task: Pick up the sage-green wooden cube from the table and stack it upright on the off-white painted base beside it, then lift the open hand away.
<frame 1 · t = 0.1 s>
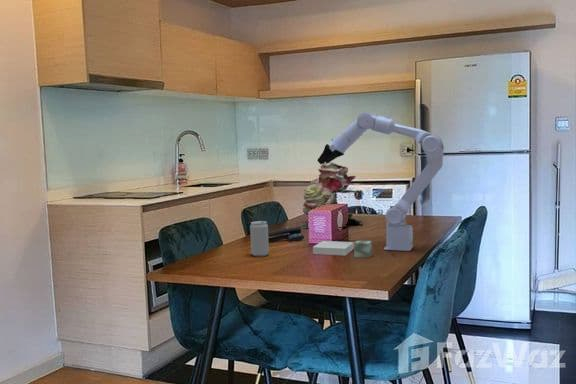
hand: (322, 162, 211), 32 cm above the table, tool tilted 50°, fingers open, 7 cm apart
can opener: (281, 242, 226), on the table
stacking base: (333, 251, 203), on the table
rose bouquet: (327, 226, 261), on the table
green cube: (363, 256, 194), on the table
beverage can: (260, 255, 200), on the table
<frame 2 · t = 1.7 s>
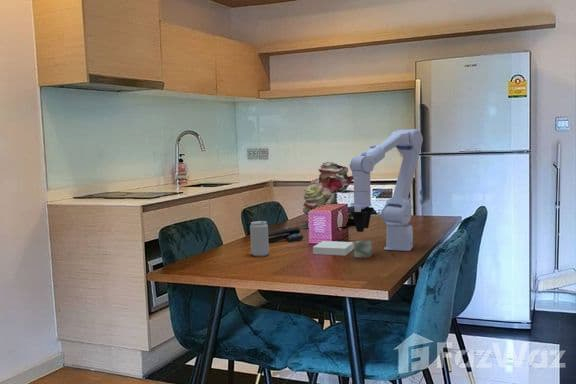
hand: (362, 229, 193), 9 cm above the table, tool pointing down, fingers open, 7 cm apart
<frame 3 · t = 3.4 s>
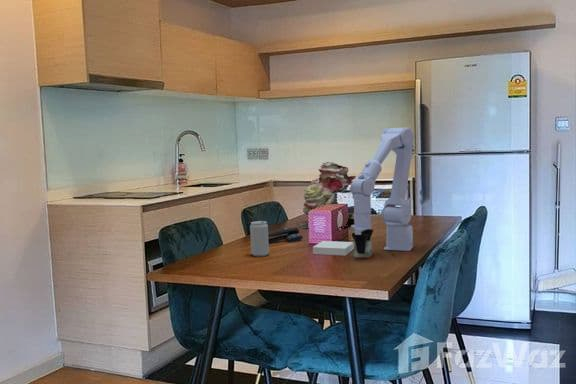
hand: (363, 251, 194), 1 cm above the table, tool pointing down, fingers closed on green cube, 5 cm apart
green cube: (363, 255, 194), on the table, touching gripper
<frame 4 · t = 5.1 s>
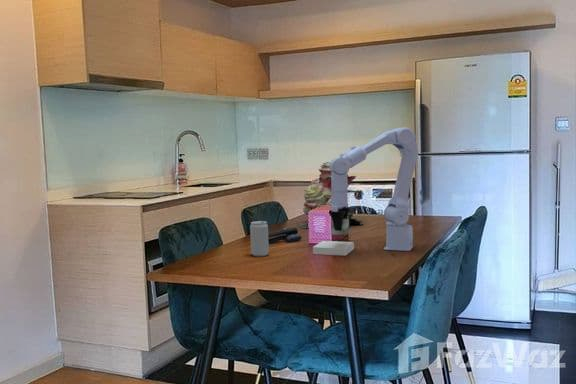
hand: (340, 229, 200), 8 cm above the table, tool pointing down, fingers closed on green cube, 5 cm apart
green cube: (340, 233, 200), point 7 cm above the table, touching gripper
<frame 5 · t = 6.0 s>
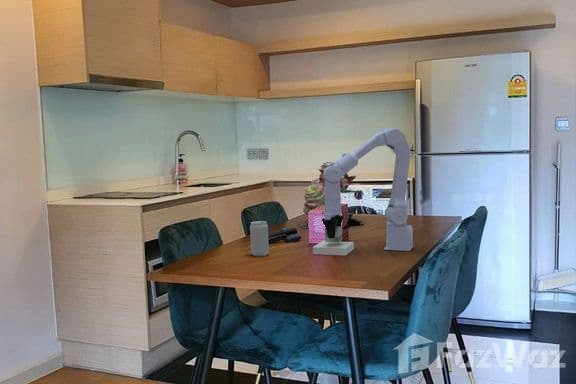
hand: (333, 236, 202), 5 cm above the table, tool pointing down, fingers closed on green cube, 5 cm apart
green cube: (333, 240, 203), point 4 cm above the table, touching gripper
when the fingers open (5 cm above the table, at t = 6.8 s): green cube drops 1 cm, resting on stacking base.
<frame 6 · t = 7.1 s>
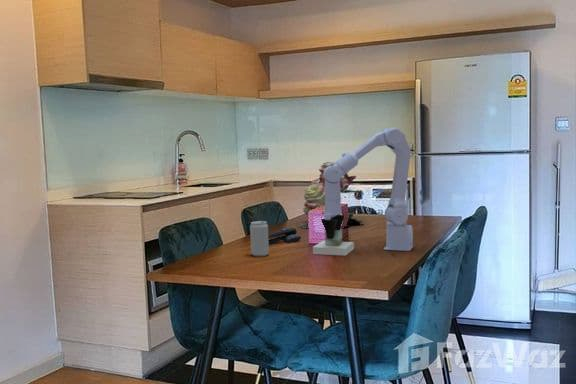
hand: (333, 236, 202), 5 cm above the table, tool pointing down, fingers open, 7 cm apart
green cube: (333, 244, 203), point 2 cm above the table, touching stacking base
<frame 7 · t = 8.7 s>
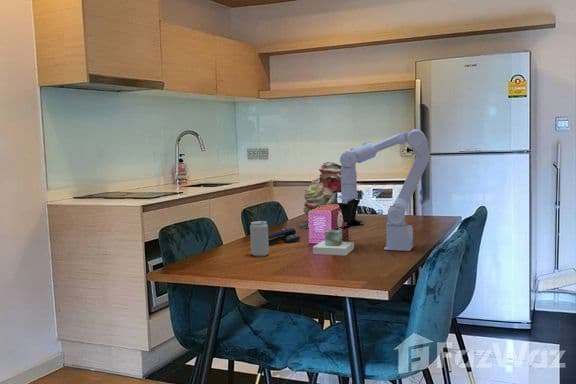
hand: (349, 220, 207), 10 cm above the table, tool pointing down, fingers open, 7 cm apart
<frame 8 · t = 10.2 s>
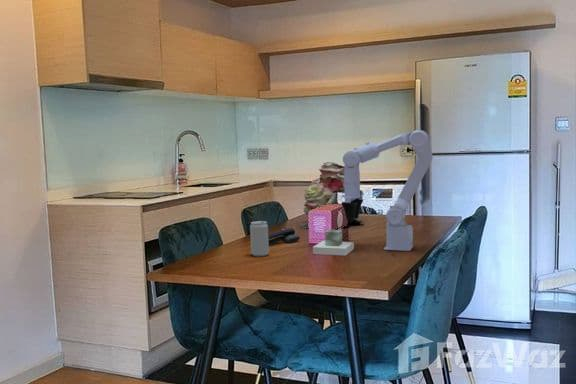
hand: (352, 219, 209), 10 cm above the table, tool pointing down, fingers open, 7 cm apart
at the end: green cube inside the target area on the stacking base (0.1 cm from its centre), point 2.5 cm above the stacking base's base; green cube tilted 0°; the gripper is holding nothing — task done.
